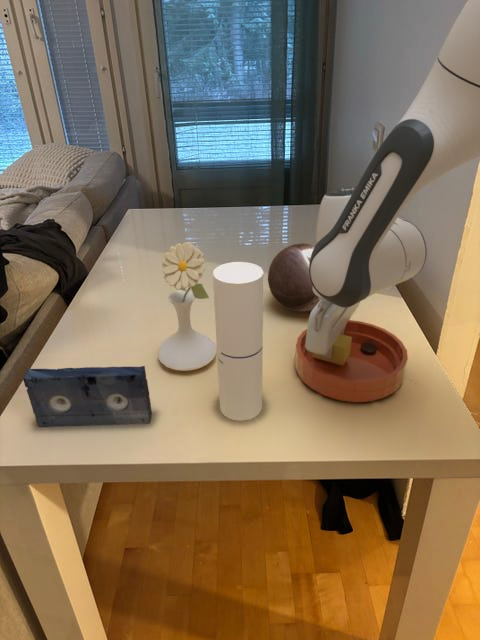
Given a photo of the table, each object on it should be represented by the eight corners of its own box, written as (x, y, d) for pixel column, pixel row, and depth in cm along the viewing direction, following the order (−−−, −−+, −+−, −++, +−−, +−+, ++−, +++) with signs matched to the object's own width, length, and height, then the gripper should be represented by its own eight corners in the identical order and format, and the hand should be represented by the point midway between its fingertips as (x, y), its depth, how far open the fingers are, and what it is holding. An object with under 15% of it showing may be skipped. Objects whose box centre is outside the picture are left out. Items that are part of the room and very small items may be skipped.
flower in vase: (147, 357, 91) (129, 237, 78) (193, 335, 98) (184, 221, 85) (186, 389, 83) (173, 260, 70) (234, 363, 89) (230, 240, 76)
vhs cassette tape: (153, 413, 78) (145, 365, 73) (150, 425, 75) (142, 376, 70) (43, 414, 78) (28, 366, 73) (37, 427, 75) (21, 378, 70)
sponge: (349, 354, 88) (352, 336, 86) (342, 365, 85) (345, 347, 83) (319, 346, 91) (321, 328, 89) (312, 356, 88) (313, 339, 86)
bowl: (412, 356, 90) (417, 334, 88) (388, 419, 76) (393, 395, 73) (317, 331, 98) (318, 311, 96) (278, 384, 84) (279, 361, 81)
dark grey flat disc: (379, 350, 91) (379, 346, 90) (371, 357, 89) (372, 353, 88) (365, 345, 92) (365, 340, 92) (357, 351, 90) (358, 347, 90)
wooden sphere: (302, 331, 98) (306, 266, 91) (254, 306, 108) (254, 245, 100) (346, 307, 107) (353, 246, 99) (298, 286, 116) (301, 228, 109)
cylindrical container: (245, 427, 75) (243, 288, 62) (211, 409, 78) (202, 274, 65) (270, 402, 79) (273, 269, 66) (237, 387, 83) (233, 257, 70)
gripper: (336, 313, 71) (329, 384, 78) (372, 263, 86) (364, 326, 93) (298, 304, 73) (294, 373, 81) (339, 257, 89) (333, 319, 96)
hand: (332, 348), depth 87 cm, fingers closed on sponge, 4 cm apart
